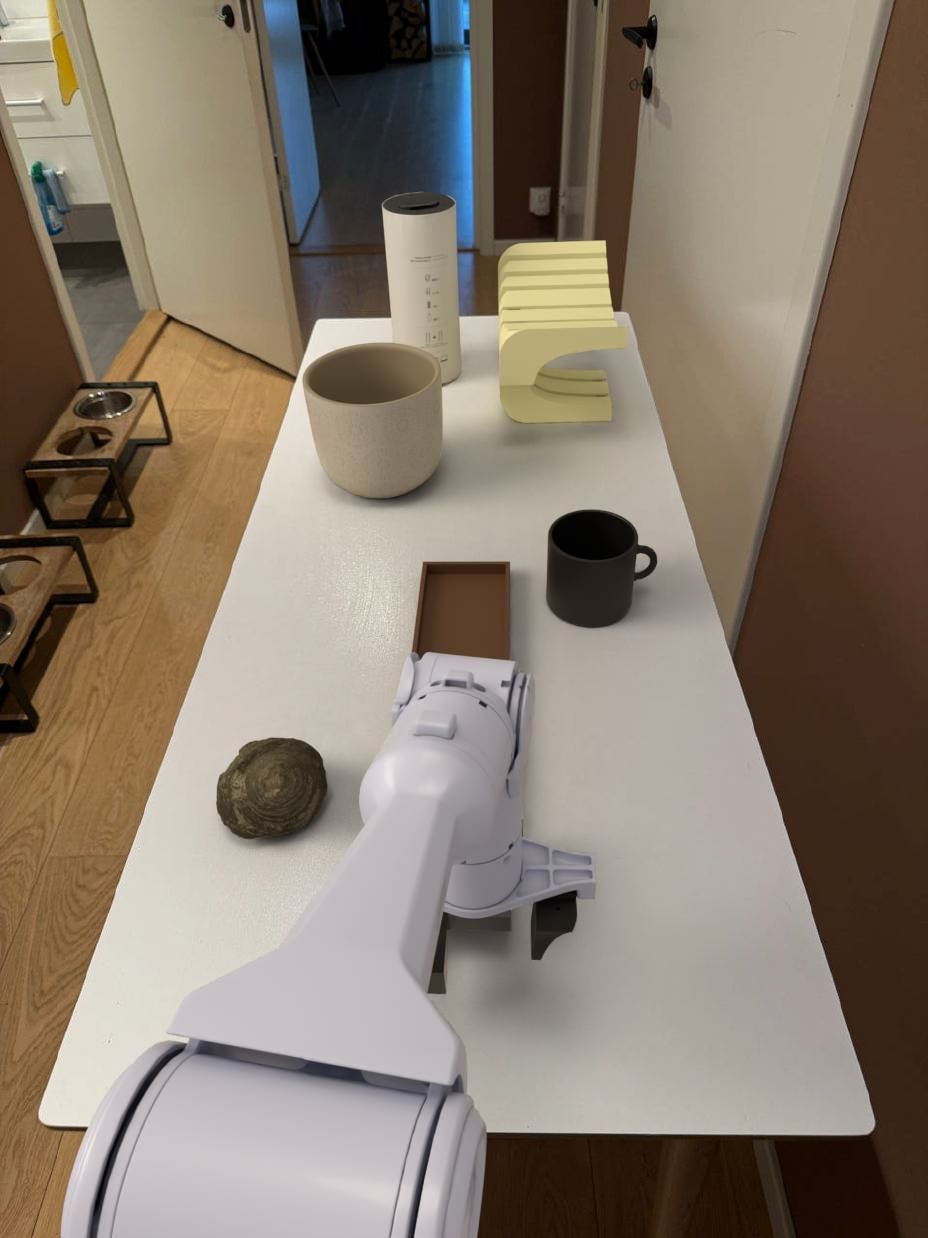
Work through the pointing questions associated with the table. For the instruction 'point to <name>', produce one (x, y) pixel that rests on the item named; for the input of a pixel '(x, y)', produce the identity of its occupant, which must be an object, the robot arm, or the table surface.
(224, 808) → the seashell
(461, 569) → the tray
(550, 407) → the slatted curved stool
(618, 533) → the mug
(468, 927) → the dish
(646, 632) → the table surface
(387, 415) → the planter
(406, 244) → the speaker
